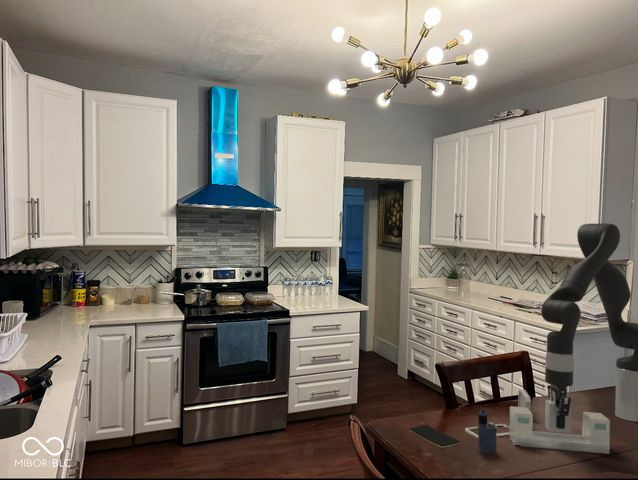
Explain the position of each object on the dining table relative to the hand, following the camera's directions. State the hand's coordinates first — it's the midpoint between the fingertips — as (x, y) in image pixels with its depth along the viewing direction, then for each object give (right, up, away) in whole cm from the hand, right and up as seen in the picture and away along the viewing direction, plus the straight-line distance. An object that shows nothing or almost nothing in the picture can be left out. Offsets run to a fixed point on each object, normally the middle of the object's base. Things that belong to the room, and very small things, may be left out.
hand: (557, 425), depth 146 cm
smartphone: (-36, -6, +4) cm, 37 cm away
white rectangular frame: (-17, -6, +9) cm, 20 cm away
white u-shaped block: (0, -6, 0) cm, 6 cm away
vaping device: (-23, -5, -7) cm, 25 cm away
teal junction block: (+13, -6, +6) cm, 16 cm away
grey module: (0, -1, 0) cm, 1 cm away
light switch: (+1, -7, +26) cm, 27 cm away
